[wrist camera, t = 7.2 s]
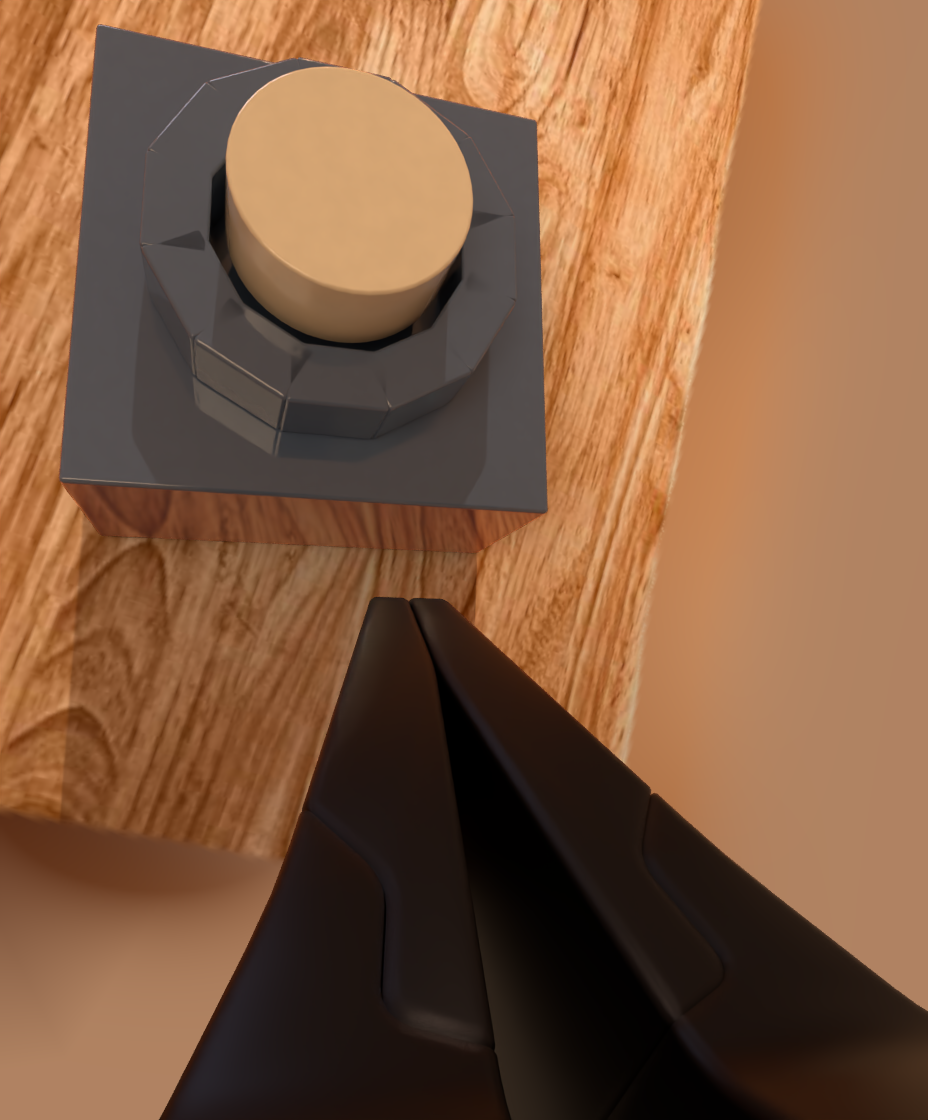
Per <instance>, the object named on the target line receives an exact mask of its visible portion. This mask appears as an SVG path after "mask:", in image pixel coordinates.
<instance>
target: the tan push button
mask: <svg viewBox="0 0 928 1120" xmlns="http://www.w3.org/2000/svg"><path fill="white" fill-rule="evenodd" d="M472 214H473V192H472V184H471V179H470V175H469V170H468V168H467V165H466V162H465V159H464V156H463V154H462V152H461V150H460V148H459V146H458V144H457V142H456V141H455V139H454V138H453V136H452V135H451V133H450V131H449V130H448V129H447V127H446V126H445V125H444V124H443V122H442V121H441V120H440V119H439V118H438V117H437V116H436V115H435V114H434V113H433V112H432V111H431V110H430V108H429V107H427V106H426V105H425V104H424V103H423V102H421V101H420V100H419V99H418V98H416V97H415V96H414V95H412V94H411V93H409V92H408V91H406V90H405V89H403V88H402V87H400V86H398V85H396V84H394V83H392V82H390V81H388V80H386V79H383V78H381V77H378V76H376V75H373V74H370V73H367V72H363V71H360V70H355V69H349V68H343V67H312V68H306V69H301V70H296V71H293V72H290V73H287V74H285V75H282V76H280V77H278V78H276V79H274V80H272V81H270V82H268V83H267V84H266V85H264V86H263V87H262V88H260V89H259V90H258V91H257V92H256V93H255V94H254V95H253V96H252V97H251V98H250V99H249V100H248V101H247V102H246V103H245V105H244V106H243V107H242V109H241V110H240V112H239V113H238V115H237V117H236V119H235V121H234V123H233V125H232V127H231V131H230V134H229V137H228V141H227V148H226V158H225V235H226V241H227V247H228V251H229V254H230V257H231V260H232V263H233V265H234V267H235V269H236V271H237V273H238V276H239V277H240V279H241V280H242V282H243V283H244V285H245V287H246V288H247V289H248V291H249V292H250V293H251V294H252V295H253V297H254V298H255V299H256V300H257V301H258V302H259V303H260V304H261V305H262V306H263V307H264V308H265V309H266V310H267V311H268V312H270V313H271V314H272V315H274V316H275V317H276V318H278V319H279V320H280V321H282V322H283V323H285V324H287V325H289V326H290V327H292V328H294V329H296V330H298V331H300V332H302V333H305V334H307V335H310V336H313V337H316V338H319V339H323V340H328V341H334V342H342V343H361V342H370V341H375V340H380V339H383V338H386V337H389V336H392V335H394V334H396V333H398V332H400V331H402V330H404V329H406V328H407V327H409V326H410V325H411V324H413V323H414V322H416V321H417V320H418V319H419V318H420V317H421V316H422V315H423V314H424V313H425V312H426V310H427V309H428V308H429V306H430V305H431V304H432V302H433V300H434V299H435V297H436V295H437V293H438V291H439V289H440V288H441V286H442V284H443V282H444V280H445V278H446V276H447V274H448V273H449V271H450V269H451V267H452V265H453V263H454V261H455V259H456V258H457V256H458V254H459V252H460V250H461V248H462V246H463V244H464V242H465V240H466V237H467V235H468V232H469V229H470V225H471V220H472Z"/></svg>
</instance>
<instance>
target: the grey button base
mask: <svg viewBox="0 0 928 1120" xmlns="http://www.w3.org/2000/svg"><path fill="white" fill-rule="evenodd" d="M312 67H341V66H337V65H332V64H328V63H323V62H319V61H314V60H310V59H306V58H301V57H300V58H298V59H296V58H291V59H287V60H283V61H280V62H276V63H274V62H269V61H265V60H260V59H256V58H251V57H247V56H242V55H238V54H233V53H228V52H224V51H219V50H215V49H210V48H206V47H201V46H197V45H192V44H188V43H183V42H179V41H174V40H170V39H165V38H160V37H156V36H151V35H147V34H142V33H138V32H133V31H129V30H124V29H120V28H115V27H111V26H106V25H102V24H100V25H98V26H97V28H96V38H95V50H94V62H93V74H92V86H91V98H90V110H89V122H88V134H87V146H86V158H85V170H84V182H83V194H82V206H81V218H80V230H79V242H78V254H77V266H76V278H75V290H74V302H73V314H72V326H71V338H70V350H69V362H68V373H67V385H66V397H65V409H64V421H63V433H62V445H61V457H60V469H59V480H60V482H61V484H62V485H63V486H64V488H65V489H66V490H67V492H68V493H69V494H70V496H71V497H72V498H73V500H74V501H75V502H76V504H77V505H78V506H79V508H80V509H81V511H82V512H83V513H84V515H85V516H86V517H87V519H88V520H89V521H90V523H91V524H92V525H93V527H94V528H95V529H96V531H97V532H98V533H99V534H100V535H102V536H123V537H145V538H166V539H187V540H209V541H230V542H251V543H272V544H294V545H315V546H336V547H358V548H379V549H400V550H421V551H443V552H464V553H477V552H479V551H481V550H483V549H484V548H486V547H488V546H490V545H491V544H493V543H495V542H497V541H498V540H500V539H502V538H504V537H505V536H507V535H509V534H511V533H512V532H514V531H516V530H518V529H519V528H521V527H523V526H525V525H526V524H528V523H530V522H532V521H533V520H535V519H537V518H539V517H540V516H542V515H544V514H546V513H547V510H548V508H547V472H546V437H545V401H544V365H543V330H542V294H541V258H540V223H539V187H538V151H537V122H536V121H535V120H532V119H528V118H523V117H519V116H514V115H509V114H505V113H500V112H496V111H491V110H487V109H482V108H478V107H473V106H469V105H464V104H460V103H455V102H451V101H446V100H442V99H437V98H432V97H428V96H423V95H419V94H414V93H411V92H410V91H409V90H407V89H406V88H405V87H403V86H402V85H401V84H399V83H398V82H397V81H395V80H391V78H389V77H386V76H381V75H377V74H373V75H376V76H378V77H381V78H383V79H386V80H388V81H390V82H392V83H394V84H396V85H398V86H400V87H402V88H403V89H405V90H406V91H408V92H409V93H411V94H412V95H414V96H415V97H416V98H418V99H419V100H420V101H421V102H423V103H424V104H425V105H426V106H427V107H429V108H430V110H431V111H432V112H433V113H434V114H435V115H436V116H437V117H438V118H439V119H440V120H441V121H442V122H443V124H444V125H445V126H446V127H447V129H448V130H449V131H450V133H451V135H452V136H453V138H454V139H455V141H456V142H457V144H458V146H459V148H460V150H461V152H462V154H463V156H464V159H465V162H466V165H467V168H468V170H469V175H470V179H471V184H472V192H473V214H472V220H471V225H470V229H469V232H468V235H467V237H466V240H465V242H464V244H463V246H462V248H461V250H460V252H459V254H458V256H457V258H456V259H455V261H454V263H453V265H452V267H451V269H450V271H449V273H448V274H447V276H446V278H445V280H444V282H443V284H442V286H441V288H440V289H439V291H438V293H437V295H436V297H435V299H434V300H433V302H432V304H431V305H430V306H429V308H428V309H427V310H426V312H425V313H424V314H423V315H422V316H421V317H420V318H419V319H418V320H417V321H416V322H414V323H413V324H411V325H410V326H409V327H407V328H406V329H404V330H402V331H400V332H398V333H396V334H394V335H392V336H389V337H386V338H383V339H380V340H375V341H370V342H361V343H342V342H334V341H328V340H323V339H319V338H316V337H313V336H310V335H307V334H305V333H302V332H300V331H298V330H296V329H294V328H292V327H290V326H289V325H287V324H285V323H283V322H282V321H280V320H279V319H278V318H276V317H275V316H274V315H272V314H271V313H270V312H268V311H267V310H266V309H265V308H264V307H263V306H262V305H261V304H260V303H259V302H258V301H257V300H256V299H255V298H254V297H253V295H252V294H251V293H250V292H249V291H248V289H247V288H246V287H245V285H244V283H243V282H242V280H241V279H240V277H239V276H238V273H237V271H236V269H235V267H234V265H233V263H232V260H231V257H230V254H229V251H228V247H227V241H226V235H225V158H226V148H227V141H228V137H229V134H230V131H231V127H232V125H233V123H234V121H235V119H236V117H237V115H238V113H239V112H240V110H241V109H242V107H243V106H244V105H245V103H246V102H247V101H248V100H249V99H250V98H251V97H252V96H253V95H254V94H255V93H256V92H257V91H258V90H259V89H260V88H262V87H263V86H264V85H266V84H267V83H268V82H270V81H272V80H274V79H276V78H278V77H280V76H282V75H285V74H287V73H290V72H293V71H296V70H301V69H306V68H312ZM343 68H346V67H343ZM349 69H350V68H349ZM367 73H368V72H367ZM370 74H372V73H370Z"/></svg>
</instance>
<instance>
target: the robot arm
mask: <svg viewBox="0 0 928 1120" xmlns="http://www.w3.org/2000/svg"><path fill="white" fill-rule="evenodd" d="M159 1120H928V1011H926V1010H925V1009H923V1008H922V1007H920V1006H918V1005H917V1004H915V1003H914V1002H913V1001H912V1000H910V999H909V998H907V997H906V996H905V995H903V994H902V993H901V992H899V991H898V990H896V989H895V988H894V987H892V986H891V985H890V984H889V983H887V982H886V981H885V980H883V979H882V978H881V977H880V976H878V975H877V974H876V973H874V972H873V971H872V970H871V969H869V968H868V967H867V966H866V965H864V964H863V963H862V962H860V961H859V960H858V959H857V958H855V957H854V956H853V955H851V954H850V953H849V952H848V951H846V950H845V949H844V948H842V947H841V946H840V945H838V944H837V943H836V942H835V941H833V940H832V939H831V938H830V937H828V936H827V935H826V934H824V933H823V932H822V931H821V930H819V929H818V928H817V927H816V926H814V925H813V924H812V923H810V922H809V921H808V920H806V919H805V918H804V917H803V916H801V915H800V914H799V913H798V912H796V911H795V910H794V909H793V908H791V907H790V906H789V905H787V904H786V903H785V902H784V901H782V900H781V899H780V898H778V897H777V896H776V895H775V894H773V893H772V892H771V891H770V890H768V889H767V888H766V887H765V886H763V885H762V884H761V883H760V882H758V881H757V880H756V879H755V878H754V877H752V876H751V875H750V874H749V873H747V872H746V871H745V870H744V869H742V868H741V867H740V866H739V865H738V864H736V863H735V862H734V861H733V860H731V859H730V858H729V857H728V856H726V855H725V854H724V853H723V852H722V851H720V849H718V848H717V847H716V846H715V845H714V844H713V843H711V842H710V841H709V840H708V839H707V838H706V837H705V836H704V835H702V834H701V833H700V832H699V831H698V830H697V829H696V828H694V827H693V826H692V825H691V824H690V823H689V822H688V821H686V820H685V819H684V818H683V817H682V816H681V815H680V814H679V813H678V812H677V811H675V810H674V809H673V808H672V807H671V806H670V805H669V804H668V803H667V802H665V800H663V799H662V798H661V797H660V796H659V795H658V794H656V793H653V794H651V789H650V787H649V786H648V785H647V784H646V783H644V782H643V781H642V780H641V779H640V778H639V777H638V776H637V775H636V774H635V773H634V772H633V771H632V770H630V769H629V768H628V767H627V766H626V765H625V764H624V763H623V762H622V761H621V760H620V759H618V758H617V757H616V756H615V755H614V754H613V753H612V752H611V751H610V750H609V749H608V748H606V747H605V746H604V745H603V744H602V743H601V742H600V741H599V740H598V739H597V738H596V737H594V736H593V735H592V734H591V733H590V732H589V731H588V730H587V729H586V728H585V727H584V726H582V725H581V724H580V723H579V722H578V721H577V720H576V719H575V718H574V717H573V716H572V715H570V714H569V713H568V712H567V711H566V710H565V709H564V708H563V707H562V706H561V705H560V704H559V703H557V702H556V701H555V700H554V699H553V698H552V697H551V696H550V695H549V694H548V693H547V692H545V691H544V690H543V689H542V688H541V687H540V686H539V685H538V684H537V683H536V682H535V681H533V680H532V679H531V678H530V677H529V676H528V675H527V674H526V673H525V672H524V671H523V670H521V669H520V668H519V667H518V666H517V665H516V664H515V663H514V662H513V661H512V660H511V659H509V658H508V657H507V656H506V655H505V654H504V653H503V652H502V651H501V650H500V649H499V648H497V647H496V646H495V645H494V644H493V643H492V642H491V641H490V640H489V639H488V638H487V637H486V636H484V635H483V634H482V633H481V632H480V631H479V630H478V629H477V628H476V627H475V626H474V625H472V624H471V623H470V622H469V621H468V620H467V619H466V618H465V617H464V616H463V615H462V614H460V613H459V612H458V611H457V610H456V609H455V608H454V607H453V606H452V605H451V604H450V603H448V602H447V601H445V600H443V599H426V598H413V599H411V600H410V601H409V602H408V601H407V600H406V599H404V598H392V597H374V598H372V599H371V600H370V603H369V605H368V608H367V611H366V614H365V618H364V621H363V624H362V627H361V630H360V633H359V636H358V639H357V642H356V645H355V648H354V651H353V654H352V657H351V660H350V663H349V666H348V670H347V673H346V676H345V679H344V682H343V685H342V688H341V691H340V694H339V697H338V700H337V703H336V706H335V709H334V712H333V715H332V718H331V721H330V725H329V728H328V731H327V734H326V737H325V740H324V743H323V746H322V749H321V752H320V755H319V758H318V761H317V764H316V767H315V770H314V773H313V777H312V780H311V783H310V786H309V789H308V792H307V795H306V798H305V801H304V804H303V807H302V812H301V813H300V815H299V818H298V821H297V824H296V827H295V830H294V833H293V836H292V839H291V842H290V845H289V848H288V851H287V854H286V856H285V859H284V862H283V864H282V867H281V870H280V872H279V875H278V878H277V880H276V883H275V886H274V888H273V891H272V894H271V896H270V898H269V900H268V902H267V905H266V907H265V909H264V911H263V913H262V916H261V918H260V920H259V922H258V924H257V926H256V928H255V931H254V933H253V935H252V937H251V939H250V941H249V943H248V945H247V948H246V950H245V952H244V954H243V956H242V958H241V960H240V962H239V964H238V966H237V968H236V970H235V972H234V974H233V976H232V978H231V980H230V982H229V984H228V985H227V987H226V989H225V991H224V993H223V995H222V997H221V999H220V1001H219V1003H218V1005H217V1007H216V1009H215V1011H214V1013H213V1015H212V1017H211V1019H210V1021H209V1023H208V1025H207V1027H206V1029H205V1031H204V1033H203V1035H202V1037H201V1039H200V1041H199V1043H198V1045H197V1047H196V1049H195V1051H194V1053H193V1055H192V1057H191V1059H190V1061H189V1063H188V1065H187V1067H186V1069H185V1071H184V1073H183V1074H182V1076H181V1079H180V1080H179V1083H178V1084H177V1086H176V1088H175V1090H174V1093H173V1094H172V1097H171V1098H170V1100H169V1102H168V1104H167V1106H166V1108H165V1110H164V1112H163V1113H162V1115H161V1117H160V1119H159Z"/></svg>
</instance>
